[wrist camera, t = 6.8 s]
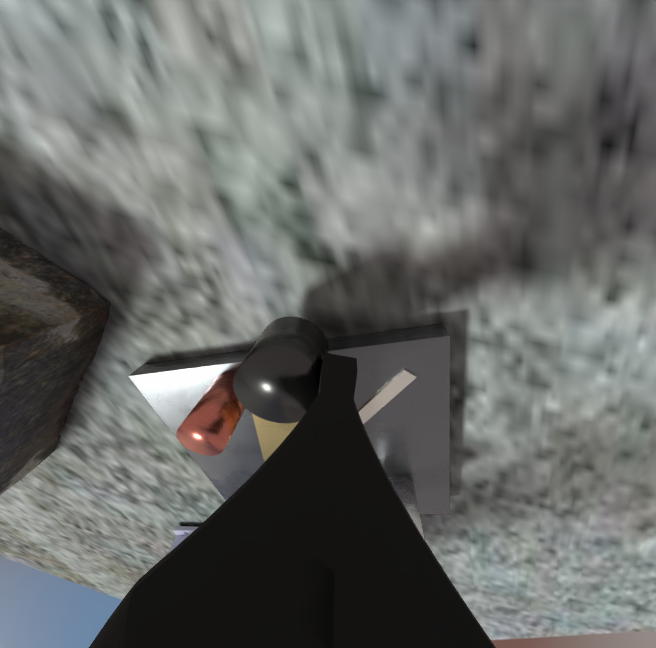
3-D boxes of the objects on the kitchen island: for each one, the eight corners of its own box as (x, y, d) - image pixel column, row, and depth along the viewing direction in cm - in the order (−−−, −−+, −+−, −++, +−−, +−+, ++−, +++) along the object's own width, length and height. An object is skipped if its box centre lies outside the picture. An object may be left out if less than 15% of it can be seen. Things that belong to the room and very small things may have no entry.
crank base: (239, 496, 20) (214, 561, 17) (143, 364, 14) (69, 423, 10) (444, 497, 17) (467, 578, 13) (442, 323, 10) (484, 390, 7)
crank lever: (341, 492, 15) (338, 553, 13) (279, 485, 16) (264, 543, 13) (344, 317, 9) (338, 366, 7) (243, 314, 10) (200, 358, 7)
